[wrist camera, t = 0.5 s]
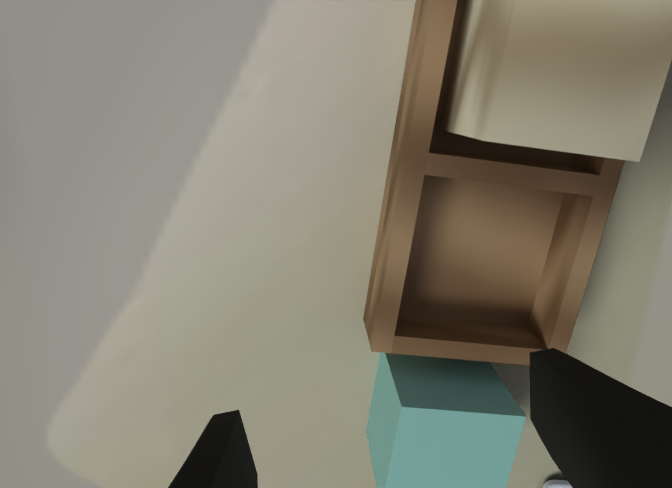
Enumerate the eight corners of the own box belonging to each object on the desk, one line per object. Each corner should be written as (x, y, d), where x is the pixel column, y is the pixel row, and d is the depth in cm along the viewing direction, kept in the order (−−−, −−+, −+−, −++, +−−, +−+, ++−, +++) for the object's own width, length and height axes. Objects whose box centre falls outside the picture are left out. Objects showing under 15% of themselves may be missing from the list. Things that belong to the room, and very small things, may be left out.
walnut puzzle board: (529, 334, 23) (602, 413, 18) (363, 318, 22) (383, 395, 17) (628, -22, 19) (770, -73, 13) (425, -57, 18) (481, -129, 12)
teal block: (460, 436, 25) (496, 517, 20) (365, 429, 24) (380, 510, 20) (481, 351, 24) (526, 416, 19) (381, 342, 23) (401, 406, 18)
